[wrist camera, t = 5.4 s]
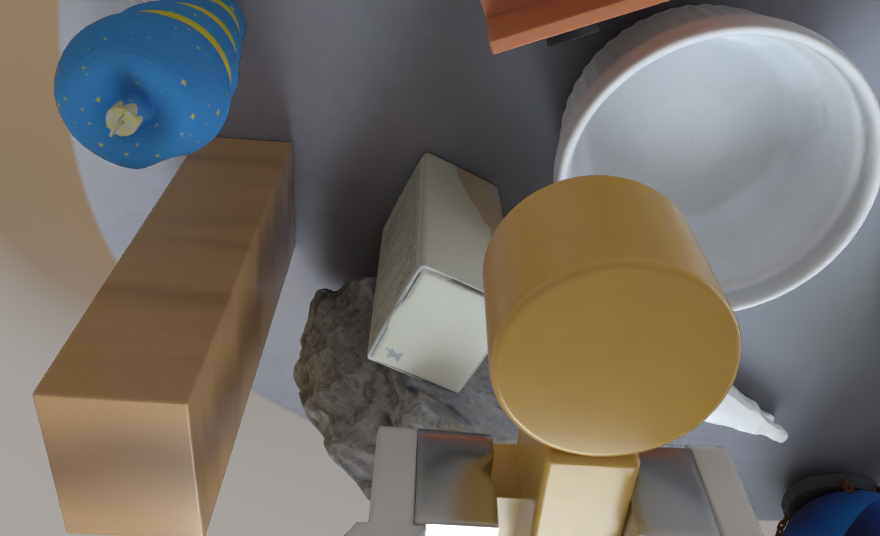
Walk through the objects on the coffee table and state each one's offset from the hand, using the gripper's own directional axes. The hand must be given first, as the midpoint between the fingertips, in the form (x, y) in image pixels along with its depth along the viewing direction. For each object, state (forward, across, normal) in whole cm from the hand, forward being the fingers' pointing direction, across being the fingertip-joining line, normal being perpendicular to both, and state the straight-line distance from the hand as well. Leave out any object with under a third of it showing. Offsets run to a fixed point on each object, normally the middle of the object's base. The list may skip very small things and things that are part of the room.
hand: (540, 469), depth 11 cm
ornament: (+29, +11, +2) cm, 31 cm away
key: (+1, 0, -1) cm, 2 cm away
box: (+29, +1, +11) cm, 31 cm away
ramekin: (+29, -10, +6) cm, 32 cm away
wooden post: (+29, +10, +11) cm, 33 cm away
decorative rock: (+29, -1, +18) cm, 34 cm away
